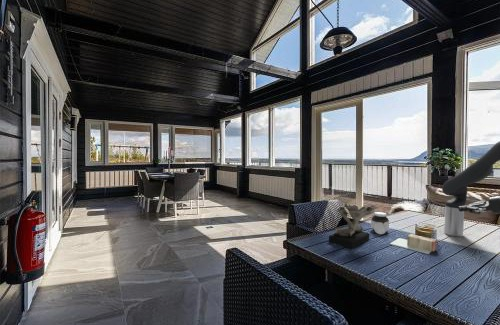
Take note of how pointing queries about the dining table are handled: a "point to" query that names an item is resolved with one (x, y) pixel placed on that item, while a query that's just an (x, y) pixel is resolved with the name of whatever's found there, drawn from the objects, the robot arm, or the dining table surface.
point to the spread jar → (380, 222)
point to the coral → (351, 227)
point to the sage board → (403, 244)
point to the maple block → (422, 242)
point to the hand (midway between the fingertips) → (459, 209)
